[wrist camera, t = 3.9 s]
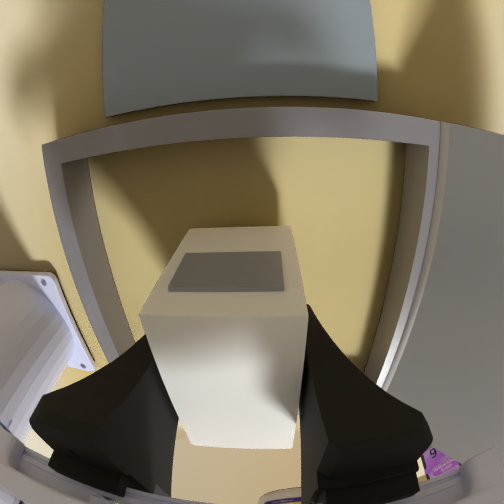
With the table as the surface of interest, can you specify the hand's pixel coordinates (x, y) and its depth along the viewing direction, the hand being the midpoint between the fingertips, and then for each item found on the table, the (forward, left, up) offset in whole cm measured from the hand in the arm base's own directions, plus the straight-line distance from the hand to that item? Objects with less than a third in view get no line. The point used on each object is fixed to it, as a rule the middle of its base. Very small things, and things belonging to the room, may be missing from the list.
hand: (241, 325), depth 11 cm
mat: (0, +14, -3) cm, 14 cm away
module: (0, 0, -2) cm, 2 cm away
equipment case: (+5, 0, -3) cm, 5 cm away
